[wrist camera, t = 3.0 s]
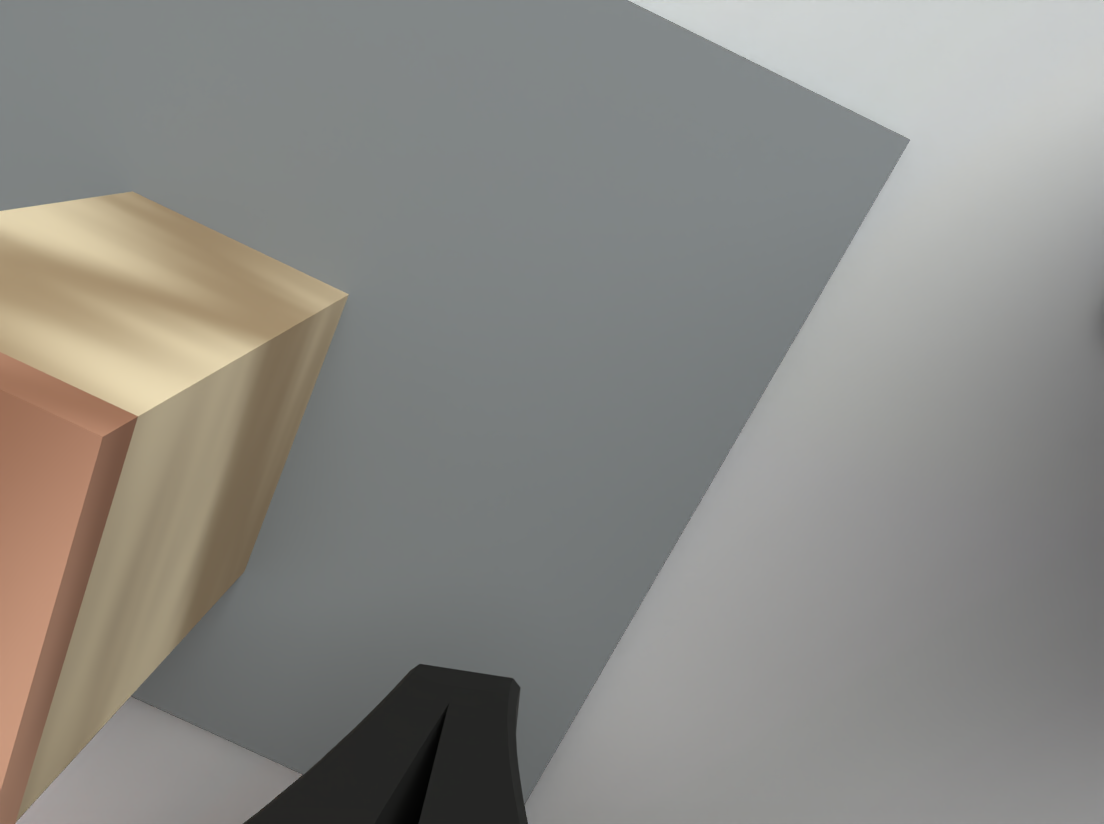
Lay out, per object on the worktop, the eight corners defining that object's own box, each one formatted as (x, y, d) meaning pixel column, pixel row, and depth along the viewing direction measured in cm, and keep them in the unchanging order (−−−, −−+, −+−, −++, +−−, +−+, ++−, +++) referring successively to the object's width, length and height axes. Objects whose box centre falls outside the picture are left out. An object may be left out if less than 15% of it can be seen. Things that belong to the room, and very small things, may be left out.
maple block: (348, 294, 15) (102, 436, 8) (244, 571, 17) (-20, 861, 10) (132, 191, 15) (-292, 254, 8) (53, 483, 17) (-337, 719, 10)
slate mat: (905, 139, 13) (910, 139, 13) (494, 849, 19) (491, 860, 19) (-321, -466, 13) (-344, -479, 12) (-382, 450, 18) (-398, 455, 18)
